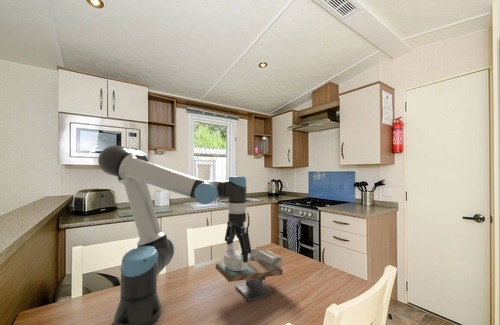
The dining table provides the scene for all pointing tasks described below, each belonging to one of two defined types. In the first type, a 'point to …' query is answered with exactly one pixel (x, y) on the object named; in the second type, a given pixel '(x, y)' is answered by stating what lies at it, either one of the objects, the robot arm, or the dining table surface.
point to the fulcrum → (253, 289)
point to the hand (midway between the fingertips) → (236, 264)
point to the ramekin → (233, 259)
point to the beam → (255, 268)
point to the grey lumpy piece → (254, 253)
